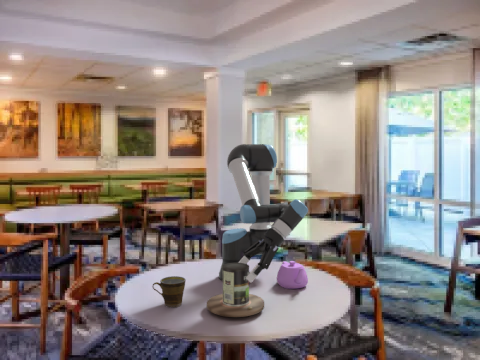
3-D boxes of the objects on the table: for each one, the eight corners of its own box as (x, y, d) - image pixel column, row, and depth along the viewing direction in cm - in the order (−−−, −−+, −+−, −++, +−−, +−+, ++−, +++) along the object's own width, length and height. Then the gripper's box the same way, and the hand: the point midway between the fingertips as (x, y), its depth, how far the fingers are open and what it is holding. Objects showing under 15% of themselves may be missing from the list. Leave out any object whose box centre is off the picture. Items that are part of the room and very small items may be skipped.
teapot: (289, 294, 174) (289, 268, 174) (270, 281, 193) (270, 257, 192) (316, 291, 179) (317, 266, 178) (295, 278, 197) (296, 255, 197)
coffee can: (251, 298, 160) (251, 263, 160) (246, 307, 150) (246, 270, 150) (225, 296, 163) (225, 261, 162) (219, 305, 152) (219, 268, 152)
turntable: (196, 307, 159) (196, 298, 159) (241, 296, 172) (241, 287, 172) (228, 326, 141) (228, 316, 141) (276, 312, 154) (276, 302, 154)
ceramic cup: (184, 299, 168) (184, 275, 168) (186, 308, 159) (186, 282, 158) (152, 301, 166) (152, 277, 165) (152, 310, 156) (152, 285, 155)
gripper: (298, 246, 149) (261, 291, 145) (270, 233, 173) (237, 272, 169) (285, 233, 147) (246, 278, 143) (259, 222, 171) (225, 260, 167)
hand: (241, 275), depth 156 cm, fingers open, 13 cm apart
